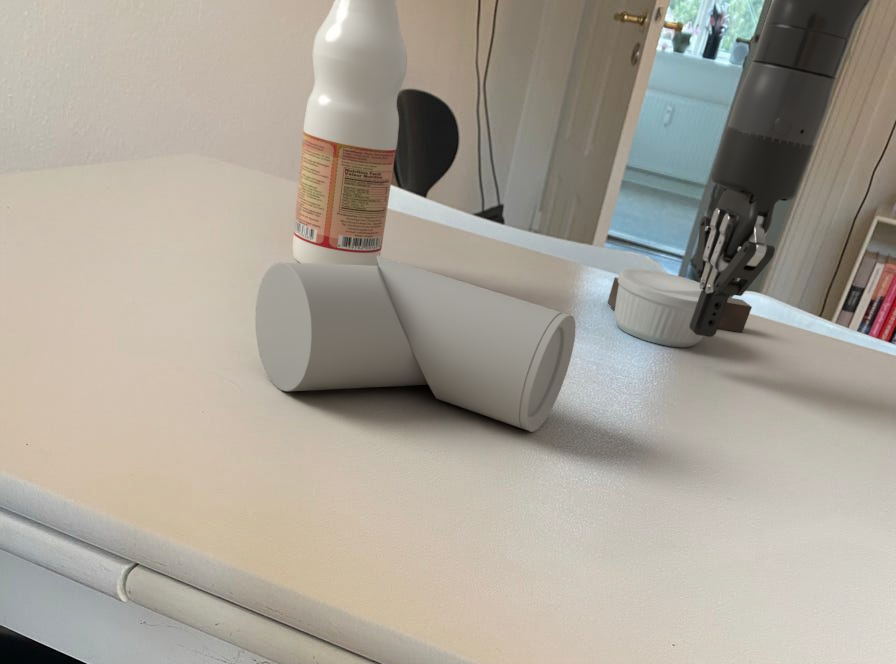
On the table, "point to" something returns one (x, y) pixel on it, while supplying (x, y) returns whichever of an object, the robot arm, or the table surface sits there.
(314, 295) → the elbow connector
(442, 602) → the table surface
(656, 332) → the ramekin
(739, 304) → the stop bar
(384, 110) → the fruit juice
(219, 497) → the table surface
